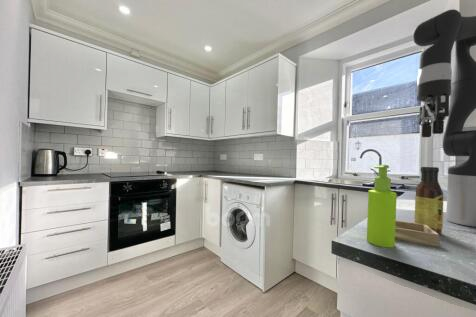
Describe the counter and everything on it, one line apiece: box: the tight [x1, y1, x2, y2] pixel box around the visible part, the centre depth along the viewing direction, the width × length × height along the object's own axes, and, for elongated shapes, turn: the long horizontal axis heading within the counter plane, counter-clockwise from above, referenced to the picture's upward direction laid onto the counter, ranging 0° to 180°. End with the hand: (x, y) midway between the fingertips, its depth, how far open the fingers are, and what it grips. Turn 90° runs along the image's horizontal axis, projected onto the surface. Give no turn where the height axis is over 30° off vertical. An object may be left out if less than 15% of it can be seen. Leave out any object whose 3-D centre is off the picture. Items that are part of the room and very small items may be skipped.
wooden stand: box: [395, 220, 440, 248], centre depth 57 cm, size 9×10×3 cm
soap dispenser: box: [366, 164, 398, 248], centre depth 51 cm, size 6×7×20 cm
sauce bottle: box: [414, 166, 444, 235], centre depth 62 cm, size 7×6×20 cm
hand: (431, 135), depth 62 cm, fingers open, 8 cm apart
